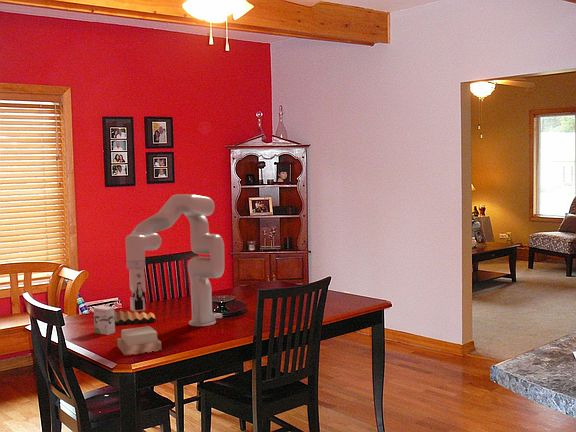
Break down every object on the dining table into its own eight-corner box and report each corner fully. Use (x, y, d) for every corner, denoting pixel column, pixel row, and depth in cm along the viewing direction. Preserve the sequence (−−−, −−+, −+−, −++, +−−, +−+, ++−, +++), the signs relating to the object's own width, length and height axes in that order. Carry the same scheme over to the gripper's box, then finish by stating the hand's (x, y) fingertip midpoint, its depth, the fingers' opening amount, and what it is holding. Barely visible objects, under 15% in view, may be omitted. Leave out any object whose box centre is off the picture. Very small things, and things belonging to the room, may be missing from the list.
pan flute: (102, 316, 349) (101, 328, 325) (101, 309, 348) (101, 320, 324) (152, 312, 355) (155, 323, 331) (152, 305, 355) (155, 316, 330)
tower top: (150, 335, 293) (149, 325, 293) (157, 341, 282) (157, 332, 282) (121, 339, 288) (121, 329, 288) (128, 346, 277) (127, 336, 277)
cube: (142, 308, 287) (142, 296, 287) (145, 310, 283) (144, 298, 282) (130, 309, 285) (129, 297, 285) (132, 311, 281) (132, 299, 280)
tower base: (153, 343, 295) (153, 333, 295) (161, 351, 282) (161, 342, 281) (117, 347, 290) (117, 338, 289) (124, 357, 276) (123, 347, 275)
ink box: (93, 333, 313) (92, 307, 312) (101, 330, 317) (100, 305, 316) (108, 335, 309) (106, 309, 308) (115, 332, 313) (114, 306, 312)
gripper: (149, 266, 276) (151, 311, 278) (140, 261, 292) (142, 303, 293) (130, 268, 273) (132, 313, 275) (122, 262, 289) (124, 305, 290)
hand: (137, 308), depth 284 cm, fingers closed on cube, 5 cm apart
